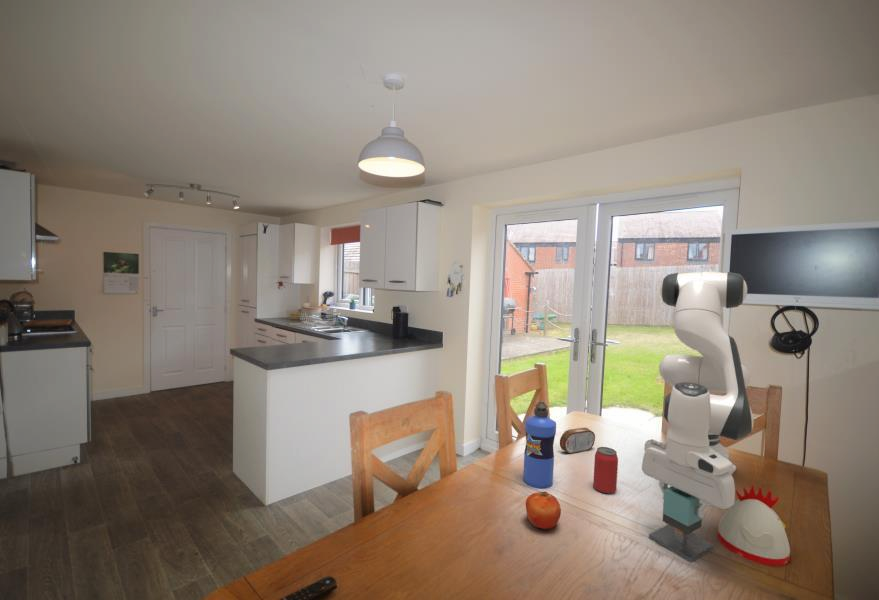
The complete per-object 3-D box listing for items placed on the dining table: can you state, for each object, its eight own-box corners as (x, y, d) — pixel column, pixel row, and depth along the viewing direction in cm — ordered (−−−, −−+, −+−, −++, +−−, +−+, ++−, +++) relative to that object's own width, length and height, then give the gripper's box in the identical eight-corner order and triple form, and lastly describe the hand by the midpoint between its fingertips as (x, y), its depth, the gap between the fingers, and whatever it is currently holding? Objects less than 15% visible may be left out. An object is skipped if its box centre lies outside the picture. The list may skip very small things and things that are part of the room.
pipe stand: (671, 526, 107) (674, 485, 106) (713, 548, 98) (716, 504, 98) (648, 538, 101) (651, 494, 101) (690, 562, 93) (694, 515, 92)
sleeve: (662, 513, 100) (664, 489, 100) (676, 507, 103) (678, 483, 103) (688, 526, 95) (689, 501, 95) (701, 519, 98) (703, 495, 98)
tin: (589, 447, 157) (590, 425, 157) (596, 450, 154) (597, 428, 154) (558, 452, 151) (559, 430, 150) (564, 456, 148) (565, 433, 148)
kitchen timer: (794, 574, 90) (800, 508, 90) (719, 551, 98) (723, 489, 97) (783, 541, 102) (788, 482, 101) (716, 522, 109) (720, 467, 109)
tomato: (541, 538, 100) (542, 506, 100) (517, 518, 108) (518, 488, 108) (569, 528, 104) (570, 498, 104) (544, 510, 112) (545, 481, 112)
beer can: (618, 496, 121) (620, 456, 121) (594, 492, 123) (597, 453, 122) (613, 485, 128) (615, 447, 127) (591, 482, 129) (593, 445, 128)
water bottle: (541, 492, 122) (545, 409, 121) (516, 479, 129) (520, 401, 128) (559, 482, 128) (563, 403, 127) (534, 471, 135) (537, 396, 134)
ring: (676, 514, 104) (676, 506, 104) (701, 527, 99) (701, 519, 98) (662, 521, 101) (663, 513, 100) (687, 534, 95) (688, 526, 95)
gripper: (638, 438, 106) (635, 491, 107) (726, 472, 88) (722, 534, 89) (652, 434, 109) (649, 485, 110) (740, 466, 92) (736, 526, 92)
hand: (682, 507), depth 99 cm, fingers closed on sleeve, 6 cm apart
